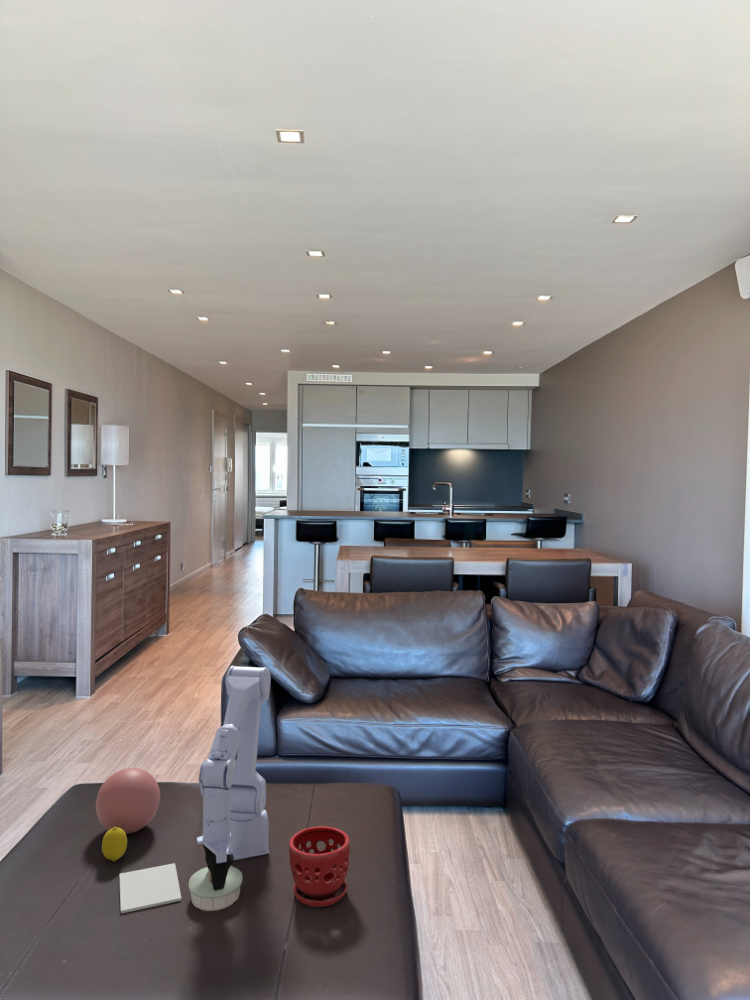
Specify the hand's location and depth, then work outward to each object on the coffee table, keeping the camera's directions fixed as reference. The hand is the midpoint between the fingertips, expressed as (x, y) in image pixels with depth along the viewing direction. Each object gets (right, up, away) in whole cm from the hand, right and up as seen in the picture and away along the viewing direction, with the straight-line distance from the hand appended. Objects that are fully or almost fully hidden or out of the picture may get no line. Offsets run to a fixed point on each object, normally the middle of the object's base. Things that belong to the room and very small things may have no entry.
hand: (215, 878), depth 141 cm
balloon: (-29, -3, +29) cm, 41 cm away
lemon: (-27, -4, +13) cm, 30 cm away
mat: (-15, -4, +2) cm, 16 cm away
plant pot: (+22, -4, +1) cm, 23 cm away
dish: (0, -4, 0) cm, 4 cm away
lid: (0, -1, 0) cm, 1 cm away
